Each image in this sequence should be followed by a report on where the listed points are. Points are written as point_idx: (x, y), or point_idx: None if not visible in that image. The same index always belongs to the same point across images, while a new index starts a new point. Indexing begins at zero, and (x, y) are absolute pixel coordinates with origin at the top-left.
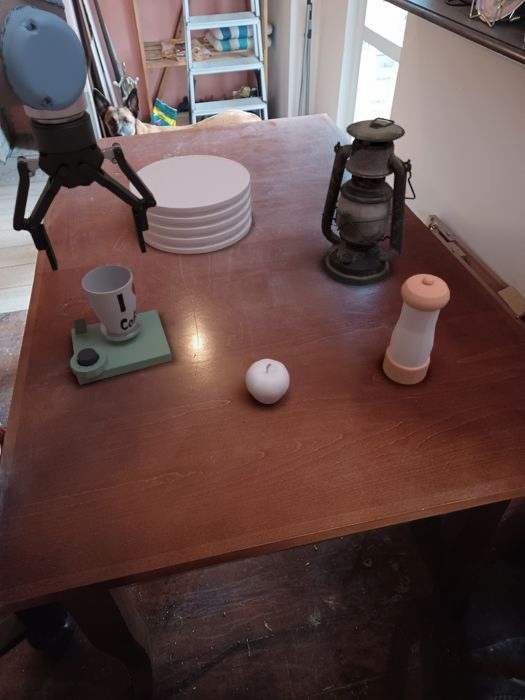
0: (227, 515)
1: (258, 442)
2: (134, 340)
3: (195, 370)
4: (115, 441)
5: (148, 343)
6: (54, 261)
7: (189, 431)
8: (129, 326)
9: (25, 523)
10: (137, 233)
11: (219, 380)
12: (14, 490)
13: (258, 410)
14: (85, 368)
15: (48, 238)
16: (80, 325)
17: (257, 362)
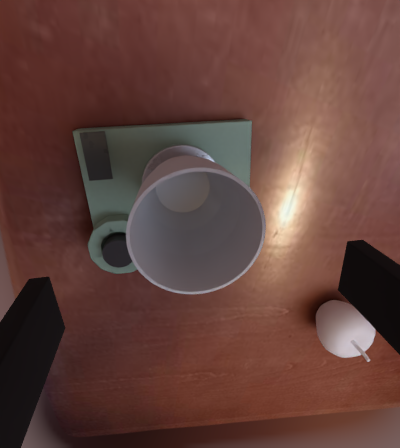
0: (241, 405)
1: (292, 356)
2: None
3: (267, 260)
4: (153, 337)
5: None
6: (52, 356)
7: (234, 337)
8: (200, 216)
9: (67, 397)
10: (389, 327)
11: (289, 281)
12: None
13: (310, 326)
14: (116, 267)
15: (2, 377)
16: (97, 155)
17: (352, 332)
